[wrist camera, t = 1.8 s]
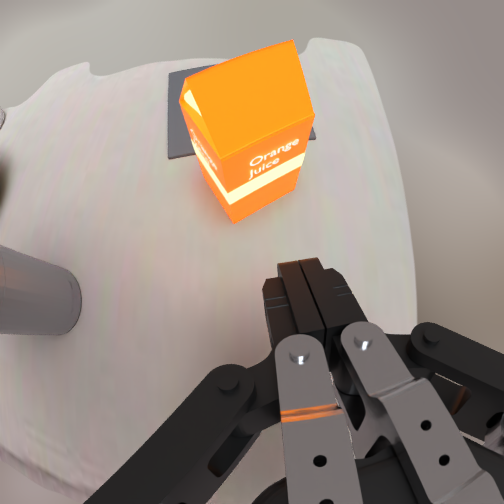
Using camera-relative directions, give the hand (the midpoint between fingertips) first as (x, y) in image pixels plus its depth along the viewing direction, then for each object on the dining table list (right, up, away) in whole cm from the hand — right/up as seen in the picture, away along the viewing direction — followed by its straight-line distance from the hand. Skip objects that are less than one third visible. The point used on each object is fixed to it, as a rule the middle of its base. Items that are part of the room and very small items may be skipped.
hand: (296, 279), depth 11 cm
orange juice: (-2, +10, +25) cm, 27 cm away
